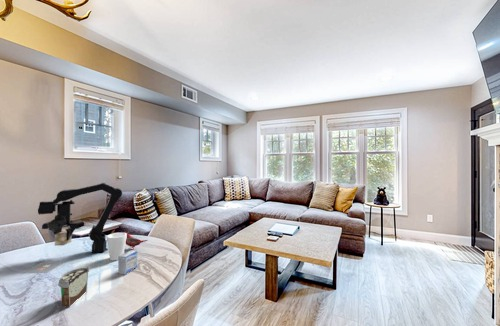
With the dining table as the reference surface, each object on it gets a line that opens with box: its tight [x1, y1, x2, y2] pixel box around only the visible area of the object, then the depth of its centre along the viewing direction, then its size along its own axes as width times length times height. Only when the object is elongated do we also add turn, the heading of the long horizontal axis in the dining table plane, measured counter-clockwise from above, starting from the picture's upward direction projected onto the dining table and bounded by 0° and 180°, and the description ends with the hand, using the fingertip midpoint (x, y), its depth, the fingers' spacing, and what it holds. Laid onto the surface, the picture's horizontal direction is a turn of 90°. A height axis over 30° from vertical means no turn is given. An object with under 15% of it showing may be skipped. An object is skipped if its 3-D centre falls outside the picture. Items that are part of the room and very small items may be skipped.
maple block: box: [54, 230, 73, 246], centre depth 123 cm, size 4×6×6 cm
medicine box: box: [117, 249, 138, 275], centre depth 109 cm, size 8×4×9 cm, turn 168°
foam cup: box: [106, 232, 127, 262], centre depth 123 cm, size 10×9×13 cm
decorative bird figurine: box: [125, 232, 148, 249], centre depth 136 cm, size 3×18×10 cm, turn 82°
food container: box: [57, 266, 90, 308], centre depth 85 cm, size 12×6×10 cm, turn 5°
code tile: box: [21, 261, 66, 274], centre depth 110 cm, size 12×12×1 cm
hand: (63, 240), depth 123 cm, fingers closed on maple block, 4 cm apart
